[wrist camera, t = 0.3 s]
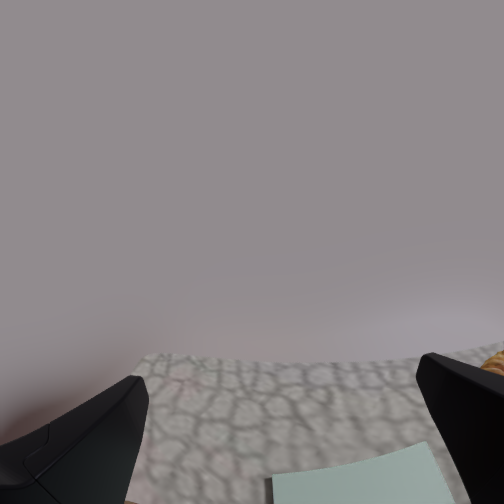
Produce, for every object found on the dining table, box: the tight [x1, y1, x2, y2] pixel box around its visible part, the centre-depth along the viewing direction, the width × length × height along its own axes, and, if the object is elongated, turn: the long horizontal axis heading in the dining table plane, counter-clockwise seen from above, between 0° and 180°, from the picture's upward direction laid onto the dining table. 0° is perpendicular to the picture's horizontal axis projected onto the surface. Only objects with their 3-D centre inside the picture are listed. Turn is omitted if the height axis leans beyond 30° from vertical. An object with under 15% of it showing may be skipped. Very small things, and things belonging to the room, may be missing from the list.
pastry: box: [480, 350, 504, 376], centre depth 19 cm, size 9×7×4 cm
